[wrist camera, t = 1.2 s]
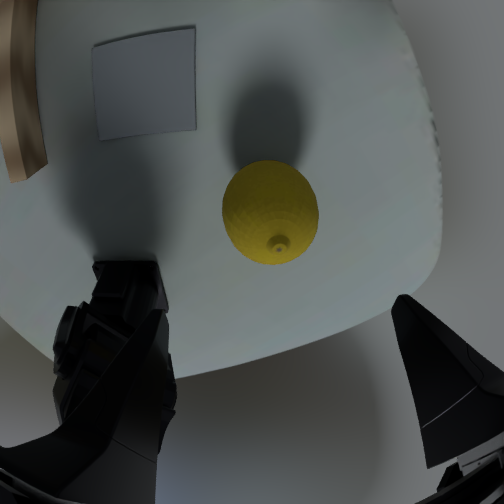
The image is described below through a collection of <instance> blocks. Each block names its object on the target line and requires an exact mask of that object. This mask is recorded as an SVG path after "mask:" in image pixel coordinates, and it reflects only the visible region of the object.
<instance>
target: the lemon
mask: <svg viewBox="0 0 504 504" xmlns="http://www.w3.org/2000/svg"><path fill="white" fill-rule="evenodd" d="M222 216H223V221H224V225H225V229H226V232H227V234H228V236H229V238H230V239H231V241H232V243H233V244H234V246H235V247H236V248H237V249H238V250H239V251H240V252H241V253H242V254H243V255H244V256H246V257H247V258H249V259H251V260H253V261H255V262H258V263H261V264H270V265H275V264H283V263H286V262H289V261H291V260H293V259H295V258H297V257H299V256H300V255H301V254H302V253H303V252H305V251H306V250H307V248H308V247H309V246H310V244H311V243H312V241H313V239H314V237H315V234H316V232H317V228H318V219H319V212H318V206H317V200H316V196H315V194H314V192H313V190H312V188H311V186H310V184H309V182H308V181H307V179H306V178H305V177H304V176H303V175H302V174H301V173H300V172H299V171H298V170H296V169H295V168H293V167H291V166H290V165H288V164H286V163H282V162H279V161H275V160H262V161H257V162H253V163H251V164H249V165H247V166H245V167H243V168H242V169H241V170H240V171H239V172H237V173H236V174H235V175H234V177H233V178H232V179H231V181H230V182H229V184H228V186H227V188H226V191H225V194H224V197H223V205H222Z"/></svg>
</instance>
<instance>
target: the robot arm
mask: <svg viewBox="0 0 504 504" xmlns="http://www.w3.org/2000/svg"><path fill="white" fill-rule="evenodd" d="M150 266H153V267H150ZM98 267H99V268H98ZM92 268H93V271H94V273H95V276H96V278H97V283H96V286H95V288H94V290H93V292H92V299H91V301H90V303H89V304H88V303H86V302H85V301H83V302H82V303H81V304H80V305H79V307H77V306H67V307H66V309H65V311H64V313H63V315H62V318H61V320H60V322H59V325H58V328H57V331H56V336H55V340H54V344H53V351H54V354H55V356H54V369H53V371H54V374H56V375H57V379H56V381H55V384H54V387H53V397H54V402H55V407H56V412H57V416H58V420H59V424H60V426H59V427H58V429H56V430H55V431H54V432H52V433H50V434H48V435H46V436H43V437H40V438H38V439H35V440H32V441H29V442H26V443H24V444H21V445H18V446H15V447H11V448H4V447H2V446H0V468H2V469H3V470H2V469H0V504H155V489H156V488H155V487H156V470H157V455H158V454H159V452H160V449H161V445H162V440H163V437H164V434H165V431H166V428H167V426H168V424H169V422H170V420H171V419H172V418H173V416H174V415H175V413H176V412H175V410H173V408H174V406H175V403H176V399H177V385H176V383H175V378H174V372H173V367H172V361H171V354H170V353H168V343H169V323H168V320H167V317H166V313H168V310H169V307H168V303H167V300H166V296H165V292H164V289H163V285H162V281H161V277H160V273H159V269H158V265H157V263H156V262H154V261H96V262H94V264H93V266H92ZM391 315H392V319H393V323H394V327H395V332H396V337H397V341H398V345H399V349H400V352H401V355H402V359H403V362H404V365H405V369H406V372H407V376H408V380H409V383H410V387H411V391H412V395H413V398H414V403H415V407H416V411H417V416H418V420H419V425H420V429H421V430H420V431H421V436H422V441H423V446H424V452H425V459H426V465H427V469H430V468H432V467H435V466H437V465H440V464H442V463H444V462H447V461H449V460H451V459H453V458H456V457H457V462H456V463H454V464H452V465H450V466H449V467H447V468H446V470H445V473H444V475H443V477H442V479H441V481H440V483H439V486H438V487H437V493H435V494H433V495H431V496H429V497H427V498H425V499H423V500H422V501H419V502H417V503H415V504H504V372H503V371H502V370H500V369H499V368H498V367H496V366H495V365H494V364H492V363H491V362H490V361H489V360H487V359H486V358H485V357H483V356H482V355H481V354H480V353H478V352H477V351H476V350H475V349H474V348H472V347H471V346H470V345H469V344H468V343H466V341H464V340H463V339H462V338H461V337H460V336H459V335H457V334H456V333H455V332H454V331H453V330H451V329H450V328H449V327H448V326H447V325H445V324H444V323H443V322H442V321H441V320H440V319H438V318H437V317H436V316H435V315H433V314H432V313H431V312H430V311H428V310H427V309H426V308H425V307H423V306H422V305H421V304H420V303H418V302H417V301H416V300H415V299H413V298H412V297H411V296H409V295H408V294H402V295H399V296H398V297H397V299H396V301H395V303H394V305H393V307H392V310H391ZM4 470H5V471H4Z"/></svg>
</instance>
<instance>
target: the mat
mask: <svg viewBox="0 0 504 504" xmlns="http://www.w3.org/2000/svg"><path fill="white" fill-rule="evenodd" d="M92 73H93V89H94V101H95V111H96V120H97V128H98V135H99V141H104V140H110V139H116V138H123V137H130V136H137V135H145V134H154V133H165V132H176V131H191V130H196V99H195V29H185V30H176V31H168V32H161V33H155V34H149V35H143V36H138V37H133V38H129V39H124V40H120V41H116V42H112V43H108V44H104V45H101V46H97V47H94V48H92Z"/></svg>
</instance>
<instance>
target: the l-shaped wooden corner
mask: <svg viewBox="0 0 504 504" xmlns="http://www.w3.org/2000/svg"><path fill="white" fill-rule="evenodd" d="M37 2H38V0H0V138H1V144H2V149H3V153H4V158H5V162H6V166H7V170H8V174H9V178H10V181H11V183H14V182H18V181H22V180H27V179H28V178H29V177H31V176H32V175H33V174H35V173H36V172H37V171H39V170H40V169H41V168H43V167H44V166H45V165H47V164H48V163H47V158H46V153H45V148H44V143H43V138H42V132H41V126H40V119H39V112H38V103H37V93H36V80H35V24H36V12H37Z"/></svg>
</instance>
